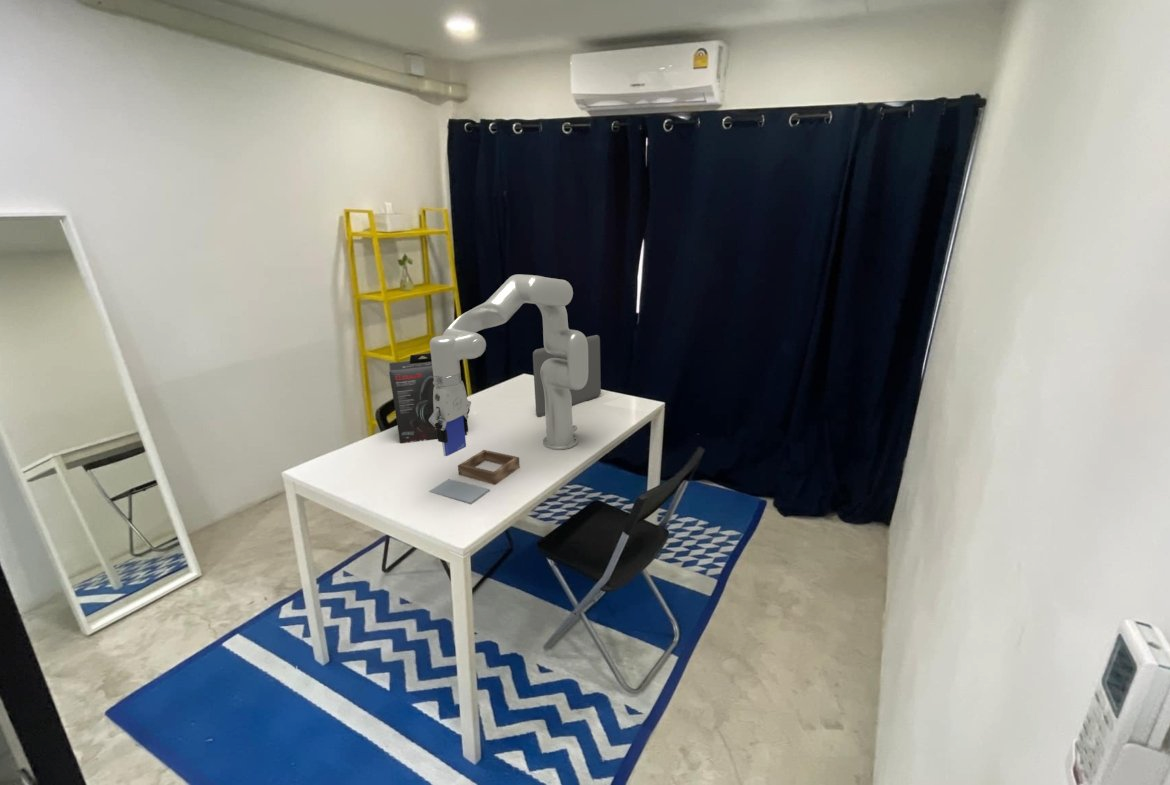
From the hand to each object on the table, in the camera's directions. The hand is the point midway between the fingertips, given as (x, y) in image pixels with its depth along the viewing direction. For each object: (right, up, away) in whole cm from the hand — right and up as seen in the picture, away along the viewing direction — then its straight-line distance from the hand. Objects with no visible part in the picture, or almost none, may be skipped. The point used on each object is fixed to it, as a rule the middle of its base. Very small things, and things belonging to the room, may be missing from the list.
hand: (453, 436), depth 163 cm
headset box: (-19, -4, +48) cm, 52 cm away
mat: (+1, -18, +6) cm, 18 cm away
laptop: (+23, +9, +85) cm, 88 cm away
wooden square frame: (+8, -13, +18) cm, 24 cm away
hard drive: (0, -5, +2) cm, 5 cm away
